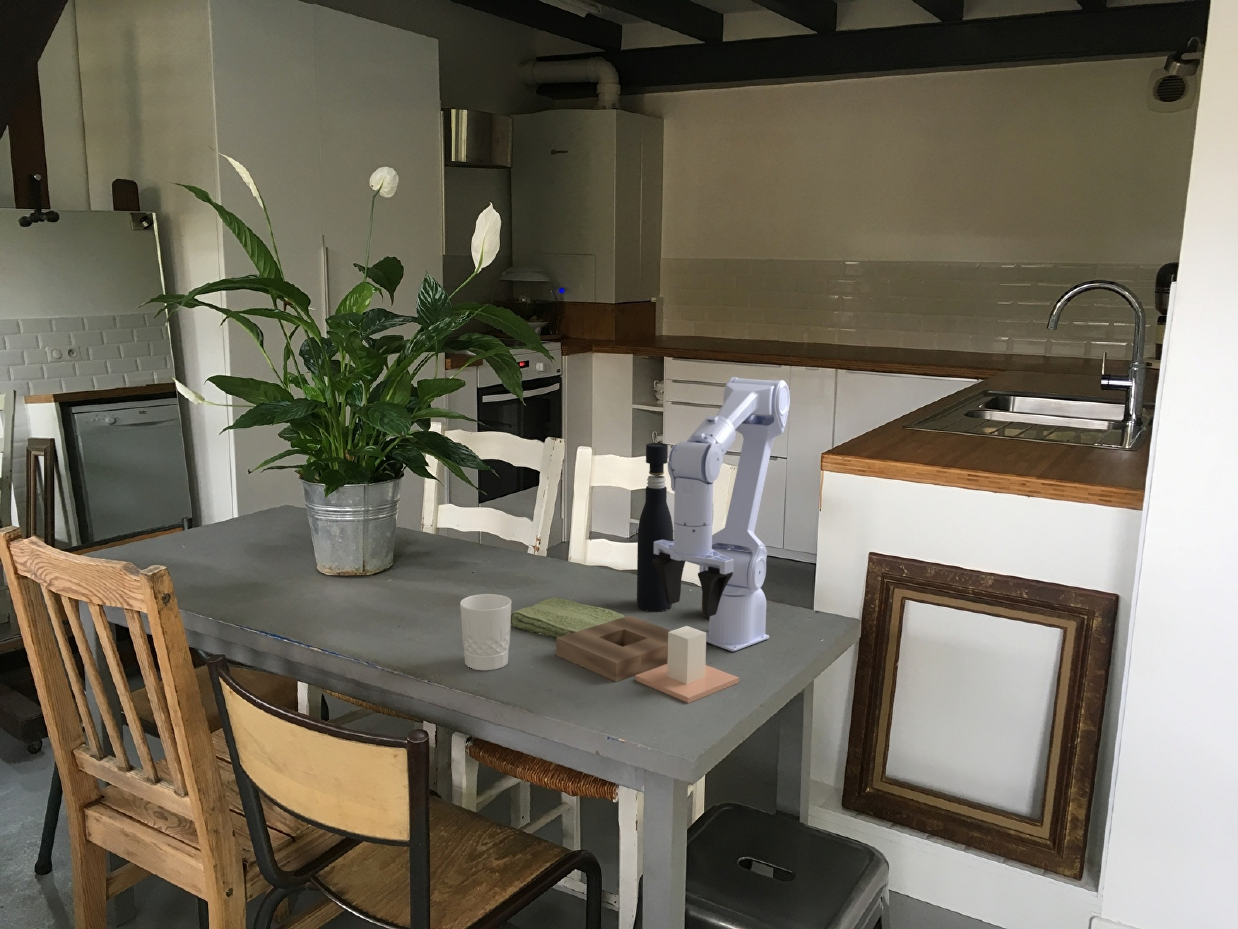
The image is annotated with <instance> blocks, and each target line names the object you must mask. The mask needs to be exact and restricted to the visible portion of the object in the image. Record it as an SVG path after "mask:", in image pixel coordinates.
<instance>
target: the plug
mask: <svg viewBox="0 0 1238 929" xmlns="http://www.w3.org/2000/svg"><path fill="white" fill-rule="evenodd" d="M706 633H707V632H705V631H702V630H700V629H696V628H695V627H694V628H693V627H691V626H688V625H685V626H683V627H680V628H677V629H672V630H670V632H668V663H667V664H668V668H667V676H668V677H670V678H673V679H675V680H678V681H680V682H682V683H685V684H689V683H691V682H694V681H697V680H699V679H702V678H704V677H705V665H706V658H707V657H706V656H707V653H706V652H707V642H706Z"/></svg>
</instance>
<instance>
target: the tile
mask: <svg viewBox="0 0 1238 929" xmlns="http://www.w3.org/2000/svg"><path fill="white" fill-rule="evenodd" d="M667 668H668V663H667V664H664V665H661V666H659V667H656V668H653V669H650V670H647V671H645V672H642V673H639V674H636V675H634V680H635V682H638V683H641V684H643V685H645V686H648V687H650V688H652V689H655V690H658V691H659V692H661V693H664V694H666V695H669V696H671V697H674V698H676V699H678V700H679V701H683V702H685V703H687V704H690V703H692V702H695V701H697V700H700V699H702V698H705V697H706V696H710V695H712V694H714V693H717V692H720V691H722V690H724V689H727V688H729V687H732V686H734V685H736V684H737V685H738V684H739V683H740V677H738V676H736V675H734V674H731V673H727V672H725V671H723V670H720V669H717V668H715V667H713V666H709V665H707V664H705V677H704V678H702V679H699V680H697V681H694V682H691V683H689V684H685V683H682V682H680V681H678V680H675V679H673V678H670V677H668V676H667Z"/></svg>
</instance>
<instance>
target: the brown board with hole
mask: <svg viewBox="0 0 1238 929" xmlns="http://www.w3.org/2000/svg"><path fill="white" fill-rule="evenodd" d="M670 631H671V630H670V629H667V628H664V627H662V626H658V625H657V624H653V623H651V622H648V621H645V620H643V619H640V618H637V617H634V616H631V615H626V616H624V617H623V618H620V619H617V620H613V621H610V622H607V623H604V624H600V625H597V626H594V627H590V628H587V629H584V630H581V631H577V632H574V633H571V634H568V635H564V636H561V637H558V638H556V637H555V638H556V643H555V644H556V649H555V650H556V657H558V658H561V659H563V658H564V659H563V660H565V659H566V660H565V661H568V662H570V663H572V664H574V665H577V664H578V665H577V666H579V665H580V666H579V667H580V668H583V667H584V669H586V670H588V671H591V672H593V673H595V674H597V675H600V676H602V677H604V678H607V679H609V680H611V681H613V682H619V681H623V680H625V679H628V678H631V677H633V676H634V677H635V675H637V674H640V673H643V672H646V671H649V670H651V669H654V668H657V667H660V666H662V665H665V664H668V632H670Z"/></svg>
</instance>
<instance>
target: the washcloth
mask: <svg viewBox="0 0 1238 929" xmlns="http://www.w3.org/2000/svg"><path fill="white" fill-rule="evenodd" d="M623 617H625V615H624V614H622V613H619V612H616V611H615V610H612V609H608V608H604V607H599V606H598V607H597V606H593V605H589V604H582V603H579V602H575V601H573V600H570V599H569V600H568V599H563V598H561V597H550V598H546V599H543V600H541V601H539V602H537V603H535V604H534V605H531V606H526V607H523V608H521V609H518V610H517V609H516V610H514V611H513V612H511V627H513V626H514V627H513V628H515V627H517V628H516V629H520V630H524V631H526V630H527V632H529V631H530V632H529V633H534V632H536V633H535V634H537V633H541V634H544V635H543V636H547V637H552V636H553V638H558V637H561V636H564V635H568V634H571V633H574V632H577V631H581V630H584V629H587V628H590V627H594V626H597V625H600V624H604V623H607V622H610V621H613V620H617V619H620V618H623ZM541 634H540V635H541Z"/></svg>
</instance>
